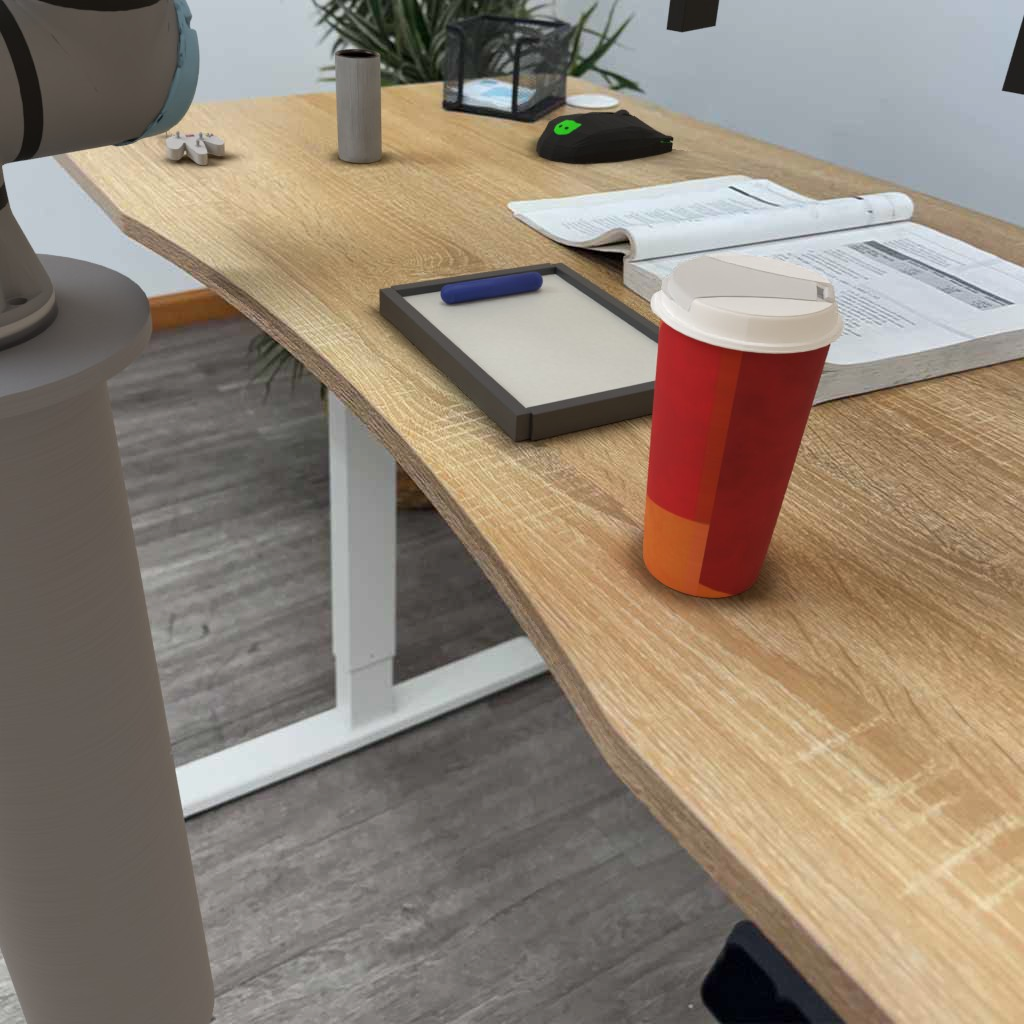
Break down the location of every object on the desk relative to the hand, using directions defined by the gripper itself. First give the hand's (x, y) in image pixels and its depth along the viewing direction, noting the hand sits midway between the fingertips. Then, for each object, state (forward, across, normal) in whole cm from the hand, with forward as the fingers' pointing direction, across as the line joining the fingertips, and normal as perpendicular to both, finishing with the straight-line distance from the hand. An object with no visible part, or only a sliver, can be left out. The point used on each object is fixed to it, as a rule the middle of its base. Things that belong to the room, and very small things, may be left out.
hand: (843, 56), depth 41 cm
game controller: (+24, +79, -26) cm, 87 cm away
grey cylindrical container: (+24, +66, -37) cm, 79 cm away
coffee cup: (+24, +2, +1) cm, 24 cm away
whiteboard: (+24, +23, -13) cm, 36 cm away
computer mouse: (+24, +52, -61) cm, 83 cm away
